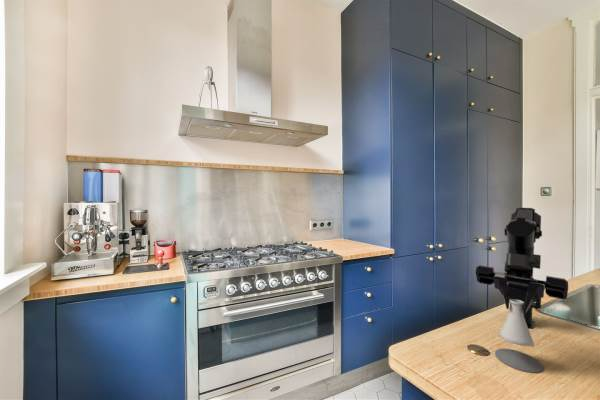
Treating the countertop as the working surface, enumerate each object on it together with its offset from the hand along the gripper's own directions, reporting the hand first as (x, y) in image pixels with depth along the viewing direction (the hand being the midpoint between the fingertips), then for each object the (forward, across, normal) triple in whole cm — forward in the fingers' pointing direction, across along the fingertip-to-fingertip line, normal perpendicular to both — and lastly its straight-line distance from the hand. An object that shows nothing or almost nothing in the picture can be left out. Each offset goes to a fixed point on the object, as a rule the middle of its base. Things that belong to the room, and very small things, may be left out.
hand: (515, 310), depth 68 cm
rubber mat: (+8, +1, +10) cm, 13 cm away
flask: (+5, 0, +6) cm, 8 cm away
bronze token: (+10, -8, +9) cm, 15 cm away
